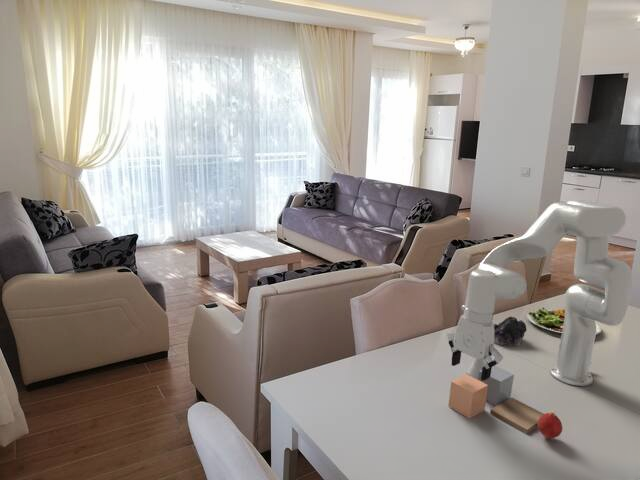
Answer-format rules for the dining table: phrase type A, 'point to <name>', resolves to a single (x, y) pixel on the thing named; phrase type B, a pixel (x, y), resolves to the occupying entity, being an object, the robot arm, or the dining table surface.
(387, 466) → the dining table surface
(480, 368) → the flask
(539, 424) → the red rounded lump
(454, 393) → the peach cube
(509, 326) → the crystal cluster
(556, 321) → the plate of food
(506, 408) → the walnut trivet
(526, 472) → the dining table surface
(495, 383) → the gray cube
